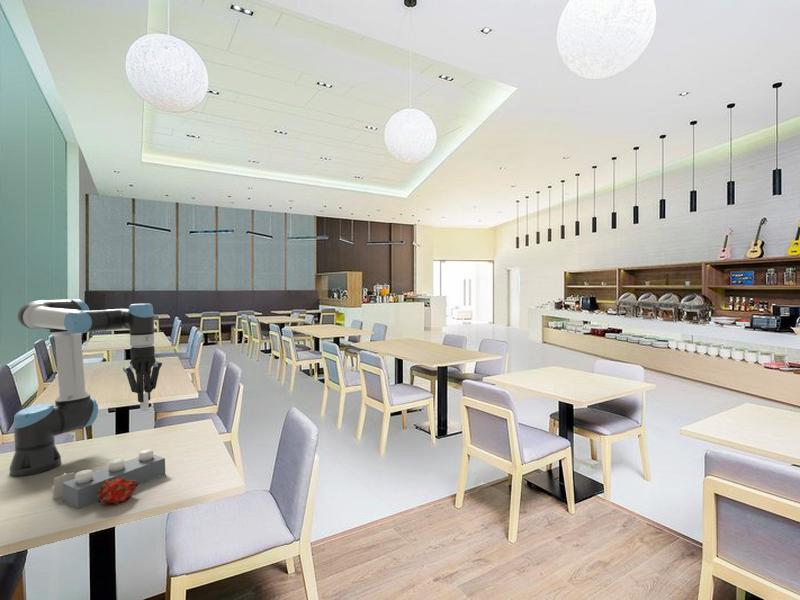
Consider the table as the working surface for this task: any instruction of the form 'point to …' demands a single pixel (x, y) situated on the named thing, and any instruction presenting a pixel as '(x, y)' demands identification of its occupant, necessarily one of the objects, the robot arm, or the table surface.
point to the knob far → (146, 455)
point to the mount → (132, 471)
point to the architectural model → (60, 484)
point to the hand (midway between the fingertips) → (144, 410)
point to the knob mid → (116, 465)
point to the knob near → (83, 476)
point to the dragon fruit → (116, 490)
